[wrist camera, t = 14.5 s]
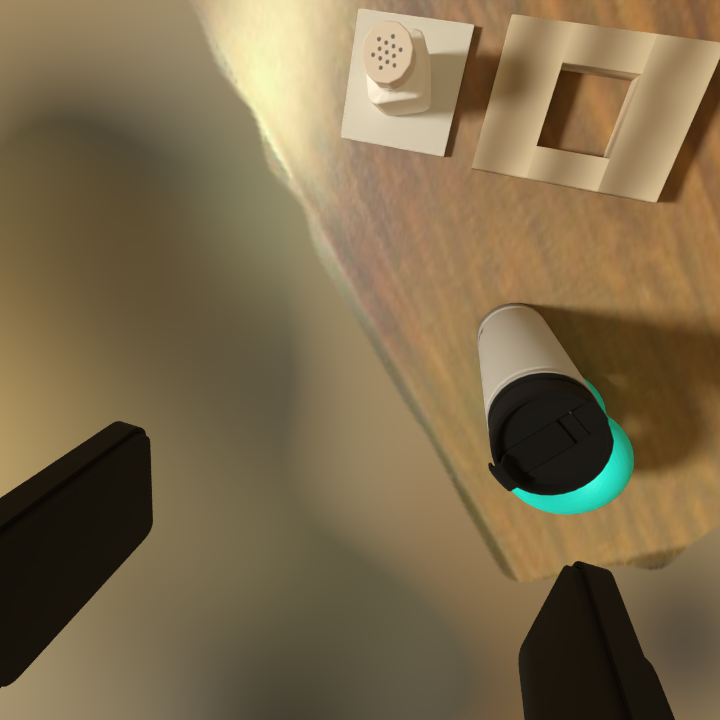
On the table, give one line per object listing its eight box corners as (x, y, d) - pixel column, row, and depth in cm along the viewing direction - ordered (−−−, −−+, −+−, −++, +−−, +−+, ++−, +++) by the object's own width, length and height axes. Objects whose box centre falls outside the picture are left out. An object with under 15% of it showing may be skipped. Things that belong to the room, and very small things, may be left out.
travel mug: (460, 332, 41) (460, 442, 23) (519, 288, 38) (572, 373, 20) (501, 379, 42) (531, 522, 24) (561, 339, 39) (648, 465, 21)
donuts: (529, 534, 36) (479, 440, 34) (516, 464, 45) (476, 387, 43) (658, 503, 32) (612, 395, 30) (616, 434, 41) (578, 347, 39)
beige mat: (474, 27, 32) (474, 24, 31) (443, 157, 36) (443, 156, 35) (360, 11, 33) (358, 8, 33) (342, 138, 37) (340, 137, 36)
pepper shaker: (430, 52, 33) (418, 4, 24) (432, 111, 34) (421, 85, 26) (380, 61, 34) (351, 18, 25) (383, 118, 35) (357, 95, 27)
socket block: (710, 52, 30) (726, 43, 28) (646, 201, 34) (656, 202, 32) (509, 24, 32) (512, 14, 30) (471, 168, 36) (471, 167, 34)
